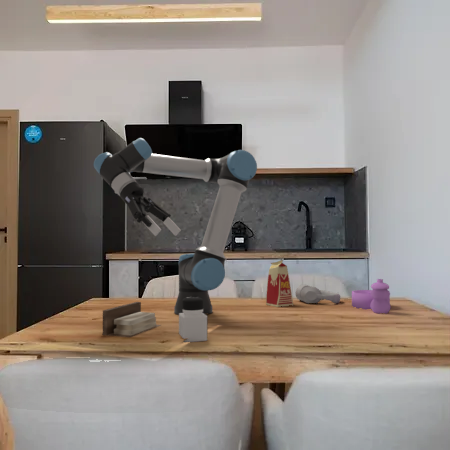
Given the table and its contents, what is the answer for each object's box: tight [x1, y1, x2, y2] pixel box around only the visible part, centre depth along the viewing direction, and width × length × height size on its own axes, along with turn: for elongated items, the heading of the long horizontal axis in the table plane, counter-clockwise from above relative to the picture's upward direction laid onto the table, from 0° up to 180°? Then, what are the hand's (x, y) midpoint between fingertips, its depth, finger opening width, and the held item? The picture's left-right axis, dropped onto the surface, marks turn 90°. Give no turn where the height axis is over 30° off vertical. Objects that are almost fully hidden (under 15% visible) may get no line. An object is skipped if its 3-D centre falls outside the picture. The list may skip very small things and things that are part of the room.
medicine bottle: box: [178, 297, 208, 343], centre depth 119 cm, size 7×7×12 cm
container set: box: [351, 278, 391, 314], centre depth 170 cm, size 25×15×13 cm, turn 176°
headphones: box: [295, 284, 341, 304], centre depth 190 cm, size 18×8×20 cm
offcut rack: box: [102, 301, 162, 338], centre depth 126 cm, size 10×18×8 cm, turn 159°
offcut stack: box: [114, 311, 157, 335], centre depth 126 cm, size 6×14×4 cm, turn 159°
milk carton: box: [265, 259, 294, 308], centre depth 181 cm, size 9×9×20 cm
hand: (168, 233), depth 132 cm, fingers open, 13 cm apart
